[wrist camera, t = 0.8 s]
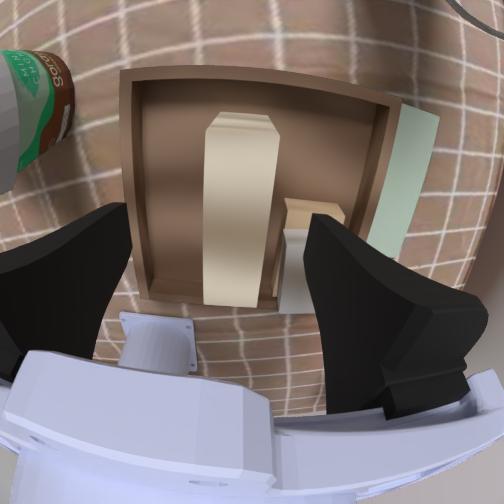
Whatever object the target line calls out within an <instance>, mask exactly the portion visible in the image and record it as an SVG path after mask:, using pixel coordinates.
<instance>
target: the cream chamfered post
mask: <svg viewBox="0 0 504 504" xmlns="http://www.w3.org/2000/svg"><path fill="white" fill-rule="evenodd" d="M279 141H280V135H279V133H278V132H277V130H276V128H275V127H274V125H273V123H272V122H271V120H270V118H269V117H268V115H258V114H247V113H232V112H220V113H219V114H218V115H217V117H216V118H215V119H214V120H213V122H212V123H211V124H210V126H209V127H208V128H207V130H206V135H205V158H204V190H203V297H204V304H205V305H219V306H235V307H253V308H257V301H258V294H259V287H260V280H261V273H262V266H263V259H264V252H265V245H266V238H267V231H268V223H269V216H270V209H271V202H272V194H273V187H274V179H275V172H276V164H277V156H278V149H279Z"/></svg>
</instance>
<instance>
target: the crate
mask: <svg viewBox="0 0 504 504" xmlns="http://www.w3.org/2000/svg"><path fill="white" fill-rule="evenodd" d="M402 101H403V98H400V97H397V96H393V95H390V94H387V93H384V92H380V91H377V90H373V89H370V88H366V87H362V86H359V85H355V84H351V83H346V82H342V81H338V80H333V79H328V78H323V77H318V76H312V75H307V74H301V73H294V72H287V71H280V70H272V69H262V68H251V67H237V66H215V65H180V66H158V67H144V68H134V69H125V70H120V87H119V121H120V148H121V165H122V177H123V188H124V198H125V203H127V209H128V217H129V224H130V231H131V238H132V244H133V248H132V256H133V262H134V267H135V273H136V278H137V283H138V288H139V293H140V298H141V299H149V300H159V301H170V302H181V303H193V304H204V297H203V190H204V158H205V135H206V130H207V128H208V127H209V126H210V124H211V123H212V122H213V120H214V119H215V118H216V117H217V115H218V114H219V113H220V112H232V113H247V114H258V115H268V117H269V118H270V120H271V122H272V123H273V125H274V127H275V128H276V130H277V132H278V133H279V135H280V141H279V149H278V156H277V164H276V172H275V179H274V187H273V194H272V202H271V209H270V216H269V223H268V231H267V238H266V245H265V252H264V259H263V266H262V273H261V280H260V287H259V294H258V301H257V308H277V309H278V303H277V297H272V288H271V276H272V270H273V264H274V258H275V252H276V246H277V240H278V234H279V228H280V222H281V215H282V209H283V203H284V198H289V199H300V200H309V201H318V202H327V203H336V204H338V205H339V207H340V209H341V210H342V212H343V213H344V215H345V220H344V223H343V225H344V226H345V227H347V228H348V229H349V230H351V231H352V232H353V233H354V234H356V235H357V236H358V237H360V238H361V239H362V240H364V241H365V242H366V241H367V238H368V235H369V232H370V229H371V226H372V223H373V219H374V216H375V213H376V210H377V206H378V203H379V199H380V196H381V192H382V189H383V185H384V182H385V178H386V174H387V170H388V166H389V162H390V158H391V154H392V150H393V145H394V141H395V136H396V132H397V127H398V122H399V117H400V112H401V107H402Z"/></svg>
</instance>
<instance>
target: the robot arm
mask: <svg viewBox="0 0 504 504" xmlns="http://www.w3.org/2000/svg"><path fill="white" fill-rule="evenodd" d="M132 248H133V244H132V238H131V231H130V224H129V217H128V209H127V203H120V202H113V203H110V204H107V205H105V206H102V207H100V208H98V209H96V210H94V211H92V212H90V213H88V214H87V215H85V216H83V217H81V218H79V219H77V220H75V221H74V222H72V223H70V224H68V225H66V226H64V227H62V228H60V229H58V230H56V231H54V232H52V233H50V234H48V235H46V236H44V237H42V238H39V239H37V240H35V241H33V242H30V243H27V244H25V245H22V246H19V247H17V248H14V249H11V250H9V251H5V252H2V253H0V445H1V446H2V447H4V448H6V449H8V450H9V451H11V452H12V453H14V454H16V455H18V456H19V458H18V461H17V465H16V470H15V474H14V478H13V483H12V488H11V494H10V500H9V504H357V500H361V499H365V498H369V497H372V496H376V495H379V494H383V493H386V492H389V491H392V490H396V489H399V488H401V487H404V486H407V485H410V484H413V483H415V482H418V481H420V480H423V479H425V478H428V477H430V476H433V475H435V474H437V473H440V472H441V471H444V470H446V469H448V468H451V467H453V466H455V465H457V464H459V463H461V462H463V461H465V460H467V459H469V458H471V457H472V456H474V455H476V454H477V453H479V452H481V451H482V450H484V449H485V448H487V447H488V446H490V445H491V444H493V443H494V442H496V441H497V440H499V439H500V438H502V437H503V436H504V390H503V388H502V386H501V384H500V382H499V379H498V377H497V375H496V373H495V371H494V369H492V368H490V369H487V370H484V371H481V372H478V373H475V374H473V375H471V376H470V377H468V378H467V379H466V378H465V376H464V374H463V371H464V370H465V369H466V368H467V364H466V362H465V360H464V357H465V356H466V355H467V353H468V352H469V351H470V350H471V349H472V347H473V346H474V345H475V343H476V342H477V341H478V340H479V338H480V337H481V335H482V334H483V332H484V330H485V328H486V326H487V322H488V316H489V315H488V312H487V309H486V308H485V307H484V305H483V304H482V302H481V301H480V299H479V298H478V297H477V296H475V295H472V294H469V293H466V292H463V291H460V290H457V289H454V288H451V287H448V286H446V285H443V284H441V283H438V282H436V281H433V280H431V279H429V278H426V277H424V276H422V275H420V274H418V273H416V272H414V271H412V270H410V269H408V268H406V267H404V266H402V265H401V264H399V263H397V262H396V261H394V260H392V259H391V258H389V257H387V256H386V255H384V254H383V253H381V252H379V251H378V250H377V249H375V248H374V247H372V246H371V245H369V244H368V243H367V242H365V241H364V240H362V239H361V238H360V237H358V236H357V235H356V234H354V233H353V232H352V231H351V230H349V229H348V228H347V227H345V226H344V225H343V224H341V223H340V222H339V221H337V220H336V219H334V218H333V217H331V216H329V215H328V214H318V213H312V216H311V221H310V226H309V231H308V235H307V240H306V245H305V249H304V254H303V262H304V270H305V277H306V281H307V285H308V288H309V292H310V296H311V299H312V303H313V306H314V310H315V313H316V317H317V321H318V325H319V330H320V335H321V343H322V350H323V360H324V370H325V384H326V411H327V413H326V415H318V416H303V417H278V418H277V417H276V418H273V411H272V408H271V405H270V402H269V399H267V398H266V397H264V396H263V395H261V394H259V393H257V392H255V391H253V390H251V389H249V388H247V387H245V386H243V385H241V384H240V383H236V382H230V381H225V380H219V379H214V378H209V377H204V376H195V375H189V371H197V368H198V367H197V356H196V345H195V333H194V322H193V320H191V319H187V318H176V317H166V316H156V315H147V314H139V313H130V312H120V314H119V318H120V321H121V324H122V327H123V330H124V333H125V336H126V340H125V343H124V346H123V349H122V352H121V356H120V359H119V362H118V365H114V364H109V363H104V362H99V361H94V360H92V357H93V353H94V348H95V344H96V340H97V336H98V332H99V329H100V325H101V322H102V319H103V316H104V313H105V311H106V308H107V306H108V304H109V302H110V299H111V297H112V295H113V293H114V291H115V289H116V287H117V285H118V283H119V281H120V279H121V277H122V274H123V272H124V270H125V268H126V266H127V263H128V260H129V257H130V254H131V251H132ZM189 326H190V327H189Z"/></svg>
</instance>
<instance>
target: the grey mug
mask: <svg viewBox="0 0 504 504" xmlns="http://www.w3.org/2000/svg"><path fill="white" fill-rule="evenodd" d="M446 1H447V2H448V4H449V5H450V6H451V7H452V8H453V9H454V10H455V11H456V12H457V13H458V14H459V15H460V16H461V17H462V18H464V19H465V20H467V21H468V22H470V23H471V24H473V25H474V26H476V27H478V28H480V29H482V30H483V31H485V32H487V33H489V34H490V35H493V36H495V37H498V38H500V39H503V40H504V33H502V32H499V31H496V30H494V29H492V28H490V27H489V26H487V25H485V24H483V23H482V22H480V21H478V20H477V19H476V18H474V17H473V16H471V15H470V14H468V13H467V12H466V11H465V10H464V9H463V8H462V7H461V6H460V5H459V4H458V3H457V2H456V1H455V0H446Z"/></svg>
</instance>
